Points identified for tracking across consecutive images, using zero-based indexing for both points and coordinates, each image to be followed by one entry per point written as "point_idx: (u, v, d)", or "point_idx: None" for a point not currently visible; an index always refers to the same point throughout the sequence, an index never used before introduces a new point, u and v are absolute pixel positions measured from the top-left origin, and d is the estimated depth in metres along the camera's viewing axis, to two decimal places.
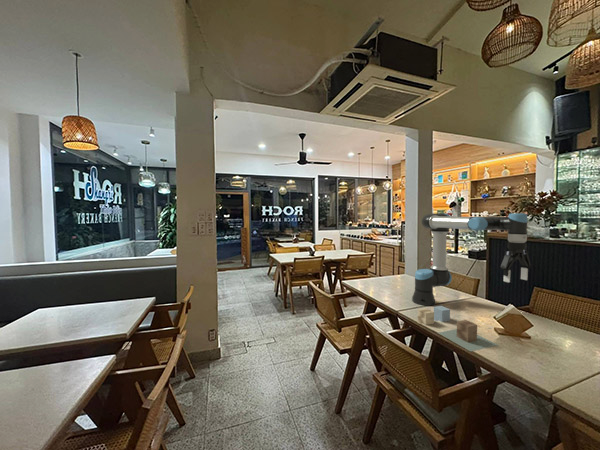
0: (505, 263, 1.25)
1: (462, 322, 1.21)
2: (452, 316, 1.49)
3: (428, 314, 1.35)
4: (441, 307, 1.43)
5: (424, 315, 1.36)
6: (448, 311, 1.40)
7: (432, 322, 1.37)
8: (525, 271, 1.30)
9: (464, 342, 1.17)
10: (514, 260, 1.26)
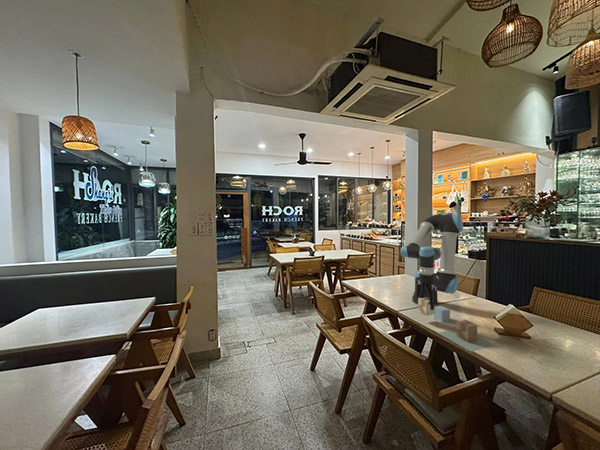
0: None
1: (462, 322, 1.21)
2: None
3: None
4: (441, 307, 1.43)
5: (425, 304, 1.36)
6: (448, 311, 1.40)
7: (433, 311, 1.37)
8: None
9: (464, 342, 1.17)
10: (421, 290, 1.40)
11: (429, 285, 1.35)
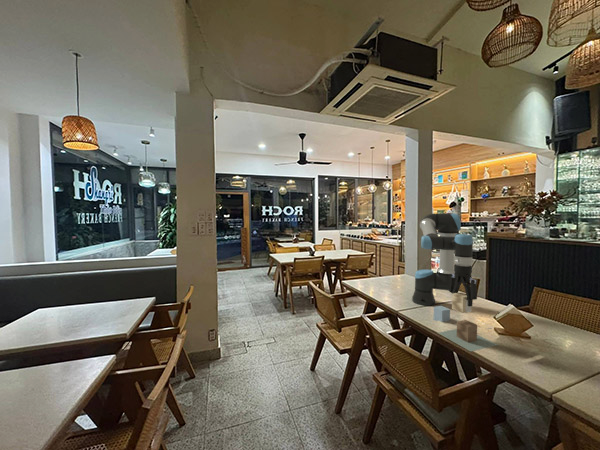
0: None
1: (462, 322, 1.21)
2: (452, 316, 1.48)
3: (465, 298, 1.18)
4: (441, 307, 1.43)
5: (461, 300, 1.18)
6: (448, 311, 1.40)
7: None
8: None
9: (464, 342, 1.17)
10: (456, 283, 1.22)
11: (467, 278, 1.17)
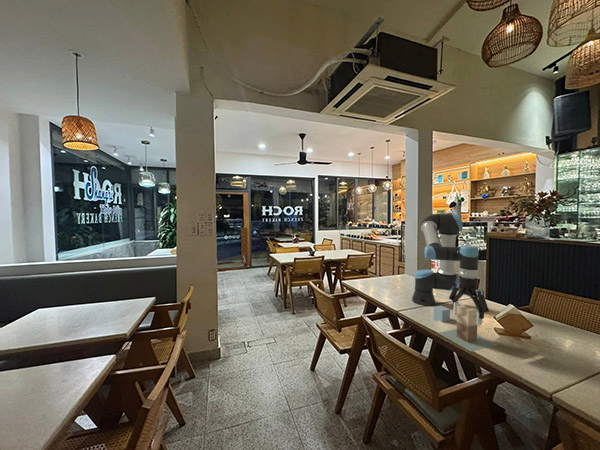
0: None
1: None
2: (452, 316, 1.48)
3: (471, 312, 1.16)
4: (441, 307, 1.43)
5: (467, 313, 1.17)
6: (448, 311, 1.40)
7: (475, 321, 1.18)
8: None
9: (464, 342, 1.17)
10: (459, 294, 1.22)
11: (472, 290, 1.16)
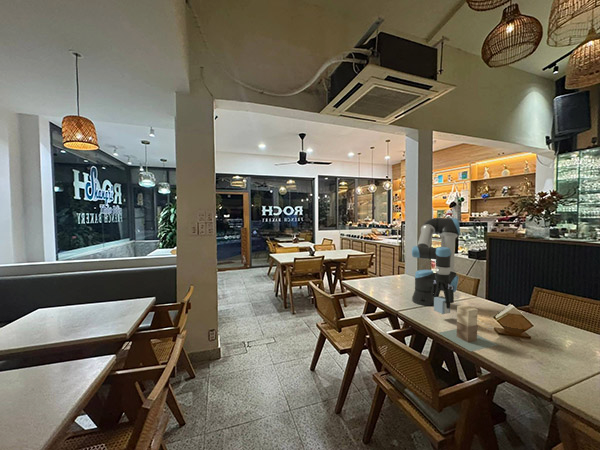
0: None
1: None
2: (452, 316, 1.48)
3: (471, 312, 1.16)
4: (441, 297, 1.43)
5: (467, 313, 1.17)
6: None
7: (475, 321, 1.18)
8: None
9: (464, 342, 1.17)
10: (437, 289, 1.43)
11: (445, 284, 1.38)
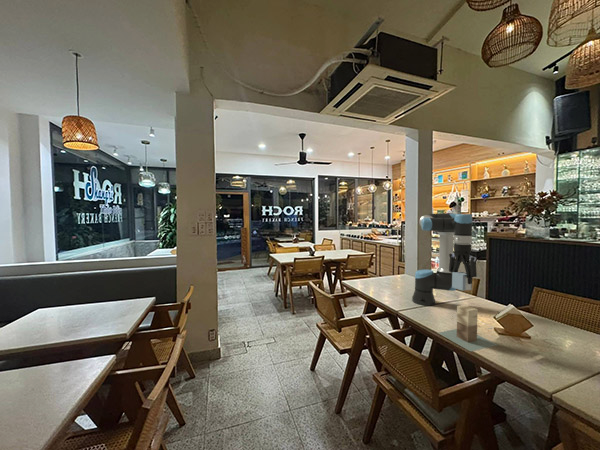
0: None
1: None
2: (452, 316, 1.48)
3: (471, 312, 1.16)
4: (461, 272, 1.24)
5: (467, 313, 1.17)
6: None
7: (475, 321, 1.18)
8: None
9: (464, 342, 1.17)
10: (456, 262, 1.25)
11: (466, 256, 1.19)
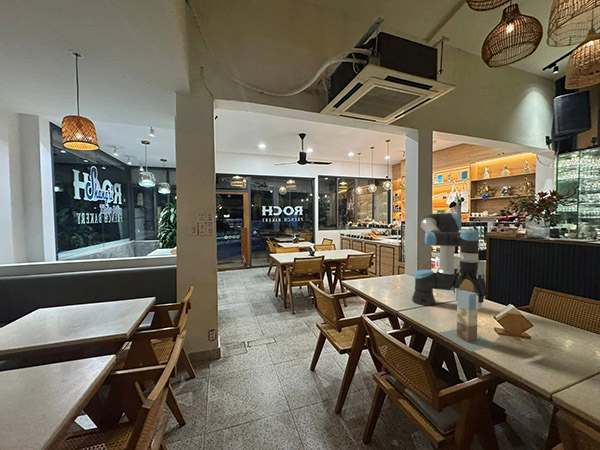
0: None
1: None
2: (452, 316, 1.48)
3: (471, 312, 1.16)
4: (467, 291, 1.20)
5: (467, 313, 1.17)
6: None
7: (475, 321, 1.18)
8: None
9: (464, 342, 1.17)
10: (460, 279, 1.21)
11: (473, 274, 1.15)
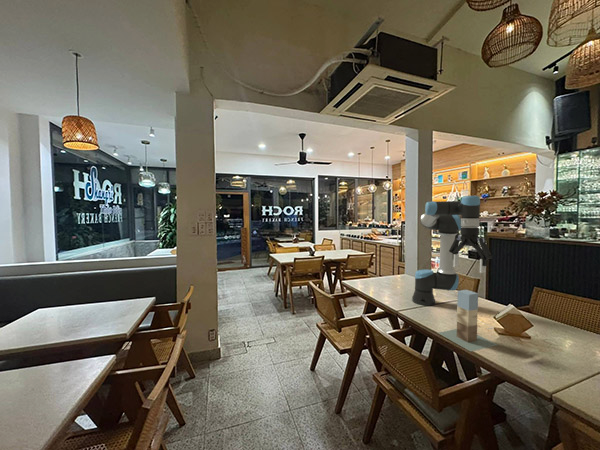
0: None
1: None
2: (453, 316, 1.48)
3: (471, 312, 1.16)
4: (467, 291, 1.20)
5: (467, 313, 1.17)
6: (476, 295, 1.17)
7: (475, 321, 1.18)
8: None
9: (464, 342, 1.17)
10: (460, 245, 1.21)
11: (474, 239, 1.14)
